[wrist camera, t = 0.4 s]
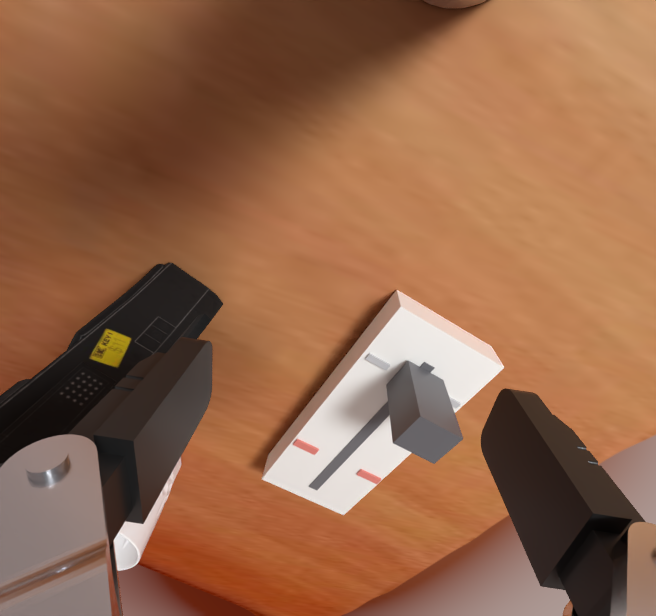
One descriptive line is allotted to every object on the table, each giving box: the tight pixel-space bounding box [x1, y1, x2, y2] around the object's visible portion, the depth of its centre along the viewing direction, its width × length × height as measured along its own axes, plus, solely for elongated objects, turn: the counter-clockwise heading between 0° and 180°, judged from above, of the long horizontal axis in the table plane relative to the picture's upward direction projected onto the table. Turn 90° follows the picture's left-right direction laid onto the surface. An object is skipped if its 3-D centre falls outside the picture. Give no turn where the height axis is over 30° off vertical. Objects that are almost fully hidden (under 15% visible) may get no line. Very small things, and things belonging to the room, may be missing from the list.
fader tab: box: [386, 361, 463, 464], centre depth 26 cm, size 3×4×6 cm
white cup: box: [114, 457, 181, 571], centre depth 36 cm, size 8×8×10 cm
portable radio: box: [0, 263, 223, 464], centre depth 19 cm, size 8×6×25 cm
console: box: [262, 290, 504, 515], centre depth 33 cm, size 24×10×3 cm, turn 149°
